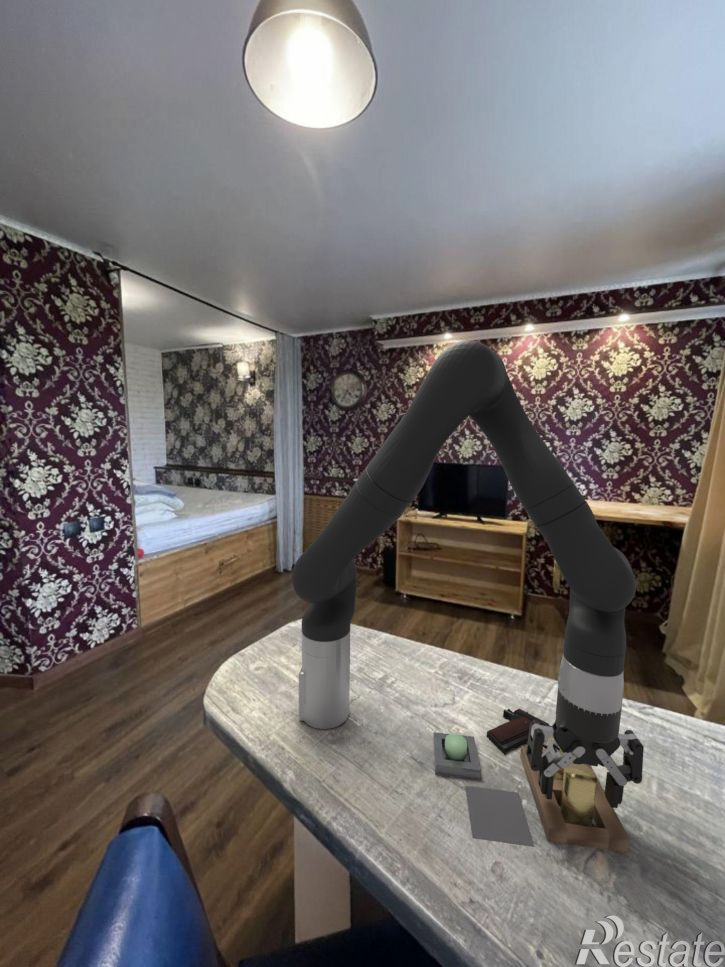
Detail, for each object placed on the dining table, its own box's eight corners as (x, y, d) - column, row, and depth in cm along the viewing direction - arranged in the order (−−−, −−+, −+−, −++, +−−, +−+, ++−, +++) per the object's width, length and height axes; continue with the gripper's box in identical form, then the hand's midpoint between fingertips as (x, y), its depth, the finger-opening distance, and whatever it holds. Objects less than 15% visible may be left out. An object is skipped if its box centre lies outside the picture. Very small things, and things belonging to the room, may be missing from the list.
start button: (445, 760, 65) (446, 749, 64) (443, 743, 68) (444, 732, 68) (467, 762, 64) (468, 751, 64) (465, 745, 68) (465, 734, 68)
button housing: (435, 776, 64) (435, 764, 63) (433, 742, 70) (433, 732, 70) (479, 781, 63) (480, 770, 62) (473, 746, 70) (474, 736, 69)
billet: (565, 835, 54) (570, 784, 53) (555, 808, 58) (560, 759, 57) (596, 839, 54) (602, 787, 53) (584, 812, 58) (589, 763, 57)
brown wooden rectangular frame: (547, 843, 53) (548, 827, 53) (520, 759, 67) (521, 745, 67) (627, 854, 52) (629, 838, 52) (582, 766, 66) (584, 752, 65)
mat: (472, 840, 54) (472, 837, 54) (464, 787, 61) (465, 785, 61) (534, 849, 53) (534, 846, 53) (518, 794, 60) (518, 792, 60)
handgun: (592, 800, 59) (609, 750, 67) (482, 735, 70) (509, 699, 79) (590, 813, 59) (607, 761, 68) (481, 746, 70) (508, 709, 79)
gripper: (542, 705, 51) (533, 816, 53) (663, 717, 49) (648, 832, 51) (526, 670, 58) (518, 769, 60) (630, 680, 56) (619, 781, 58)
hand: (578, 798), depth 56 cm, fingers open, 8 cm apart
